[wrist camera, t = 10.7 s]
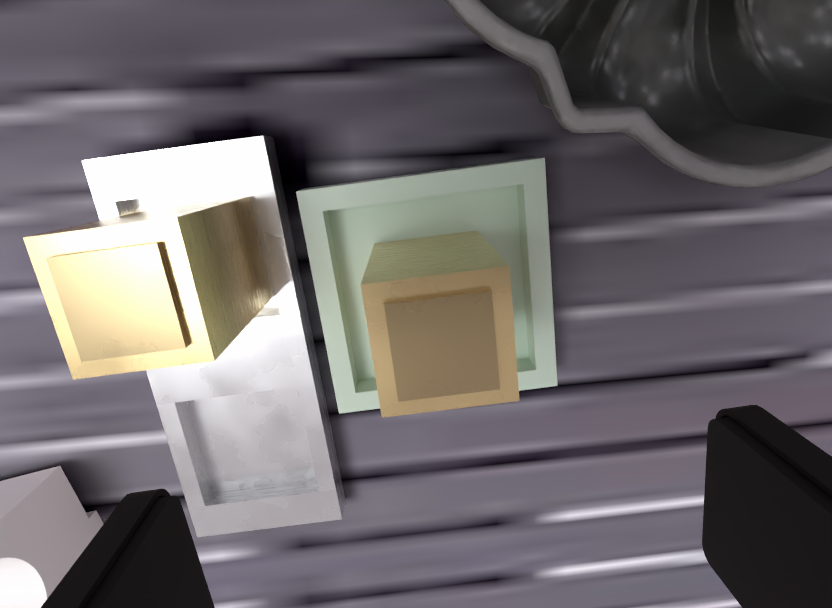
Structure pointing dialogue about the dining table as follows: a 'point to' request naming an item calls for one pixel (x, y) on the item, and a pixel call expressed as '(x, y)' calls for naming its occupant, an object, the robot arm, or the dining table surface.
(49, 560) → the bracket
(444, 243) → the wooden crate cube
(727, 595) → the dining table surface
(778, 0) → the bundt pan
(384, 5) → the dining table surface
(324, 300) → the tray
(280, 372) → the white flat board
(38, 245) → the cream square knob
